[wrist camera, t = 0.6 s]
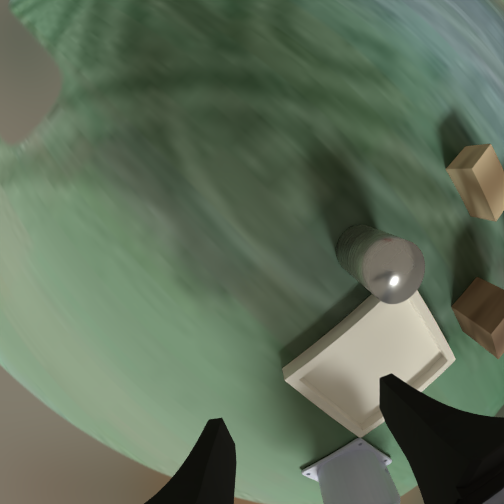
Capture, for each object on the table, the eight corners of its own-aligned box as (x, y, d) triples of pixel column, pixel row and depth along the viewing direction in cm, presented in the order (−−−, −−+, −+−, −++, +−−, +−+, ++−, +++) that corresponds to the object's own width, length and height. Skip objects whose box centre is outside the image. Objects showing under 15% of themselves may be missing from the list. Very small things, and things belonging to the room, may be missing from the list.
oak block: (487, 192, 19) (513, 195, 16) (469, 216, 20) (495, 221, 16) (464, 146, 18) (490, 143, 15) (444, 169, 19) (471, 168, 15)
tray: (447, 351, 23) (455, 359, 21) (355, 427, 24) (360, 438, 23) (397, 269, 20) (407, 274, 19) (281, 368, 22) (284, 380, 20)
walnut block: (486, 302, 22) (524, 325, 16) (462, 331, 22) (498, 359, 16) (476, 276, 21) (518, 297, 15) (451, 306, 21) (491, 334, 16)
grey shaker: (389, 250, 20) (433, 273, 14) (355, 282, 21) (390, 316, 15) (362, 214, 19) (405, 226, 14) (326, 248, 20) (357, 272, 14)
